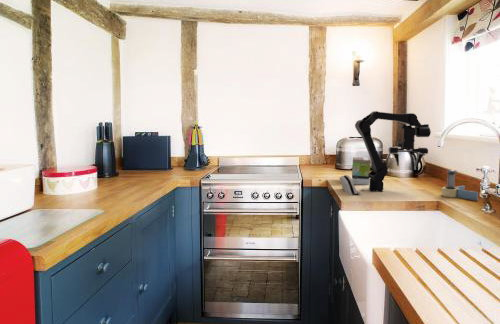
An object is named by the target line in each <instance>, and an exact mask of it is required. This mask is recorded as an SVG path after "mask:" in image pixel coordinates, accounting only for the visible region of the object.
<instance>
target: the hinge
mask: <svg viewBox="0 0 500 324" xmlns="http://www.w3.org/2000/svg"><path fill="white" fill-rule="evenodd" d="M339 181H340V184H341V187H342V189H343V191H344V192H345V193H347V195H349V196H353V195H354V194H355V195H356V194H357V195H358V196H360V195H361V194H360V191H359V190H357V189H356V186H355V184H354V183H353V181H352V177H350V175H348V174H344V175H342V176H339Z"/></svg>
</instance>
